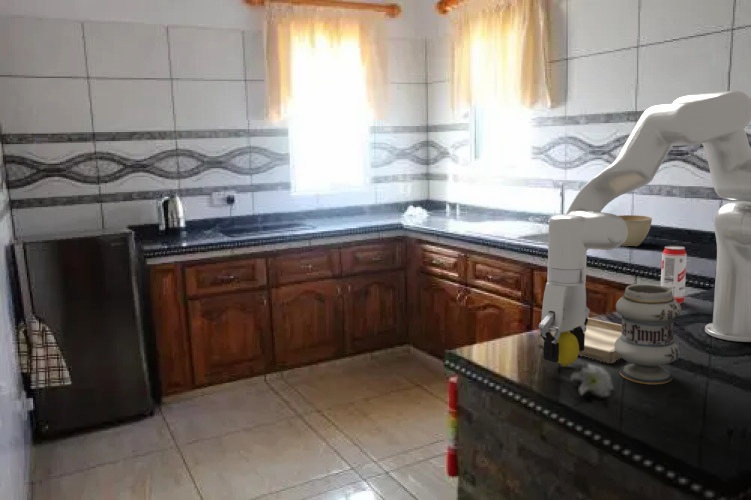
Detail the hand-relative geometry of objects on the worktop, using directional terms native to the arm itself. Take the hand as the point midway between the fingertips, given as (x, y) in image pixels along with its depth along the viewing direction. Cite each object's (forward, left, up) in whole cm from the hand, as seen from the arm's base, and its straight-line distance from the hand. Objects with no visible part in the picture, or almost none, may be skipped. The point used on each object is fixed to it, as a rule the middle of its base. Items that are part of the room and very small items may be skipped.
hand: (564, 354), depth 130 cm
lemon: (0, 0, -3) cm, 3 cm away
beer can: (-65, -6, -3) cm, 66 cm away
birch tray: (-18, -3, -3) cm, 19 cm away
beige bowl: (-146, -60, -3) cm, 158 cm away
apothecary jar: (-7, +14, -3) cm, 16 cm away
